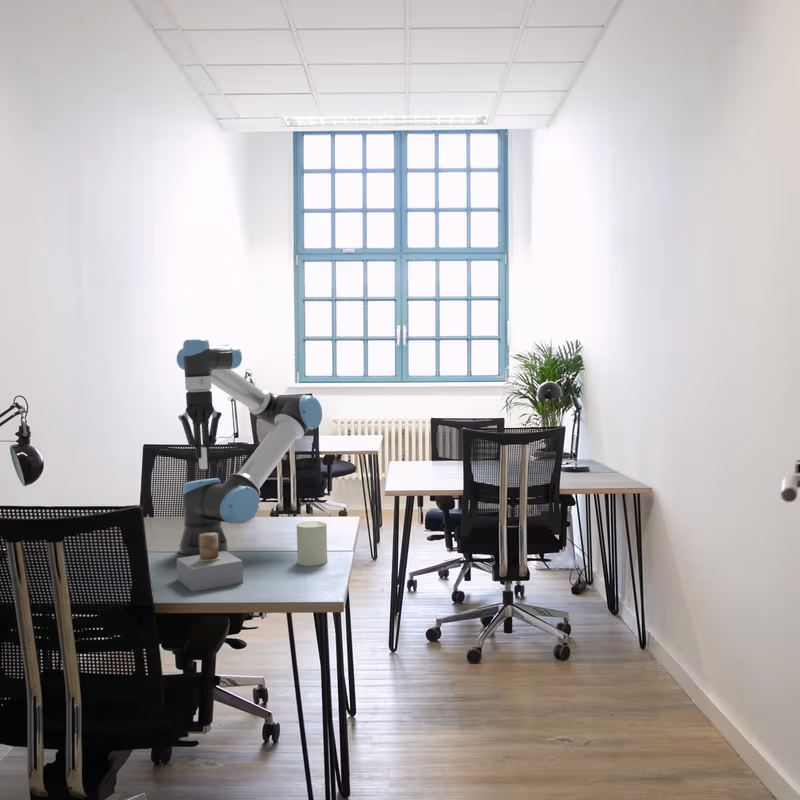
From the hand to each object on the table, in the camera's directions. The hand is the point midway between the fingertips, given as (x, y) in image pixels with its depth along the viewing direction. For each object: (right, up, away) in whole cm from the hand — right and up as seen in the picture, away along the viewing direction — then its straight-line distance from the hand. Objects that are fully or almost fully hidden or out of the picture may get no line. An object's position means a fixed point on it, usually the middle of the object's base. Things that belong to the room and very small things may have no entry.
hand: (203, 468), depth 222 cm
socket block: (+7, -30, -18) cm, 35 cm away
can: (+33, -28, 0) cm, 44 cm away
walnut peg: (+7, -30, -18) cm, 35 cm away
